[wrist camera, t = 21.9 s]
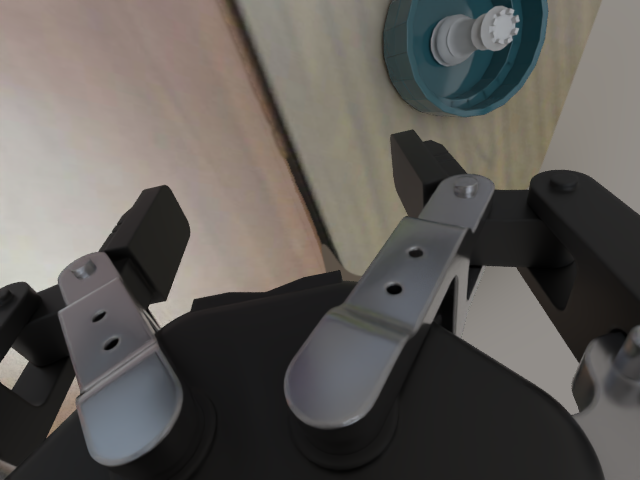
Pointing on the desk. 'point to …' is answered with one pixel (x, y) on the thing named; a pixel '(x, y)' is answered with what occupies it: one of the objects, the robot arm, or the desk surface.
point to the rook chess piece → (472, 34)
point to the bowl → (473, 73)
